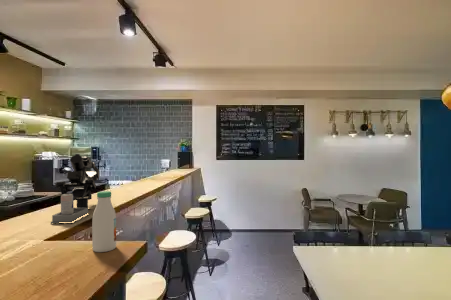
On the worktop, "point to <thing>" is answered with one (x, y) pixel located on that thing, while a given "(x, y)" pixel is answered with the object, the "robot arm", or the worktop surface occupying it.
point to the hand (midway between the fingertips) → (72, 199)
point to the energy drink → (67, 204)
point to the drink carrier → (69, 218)
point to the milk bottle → (104, 224)
